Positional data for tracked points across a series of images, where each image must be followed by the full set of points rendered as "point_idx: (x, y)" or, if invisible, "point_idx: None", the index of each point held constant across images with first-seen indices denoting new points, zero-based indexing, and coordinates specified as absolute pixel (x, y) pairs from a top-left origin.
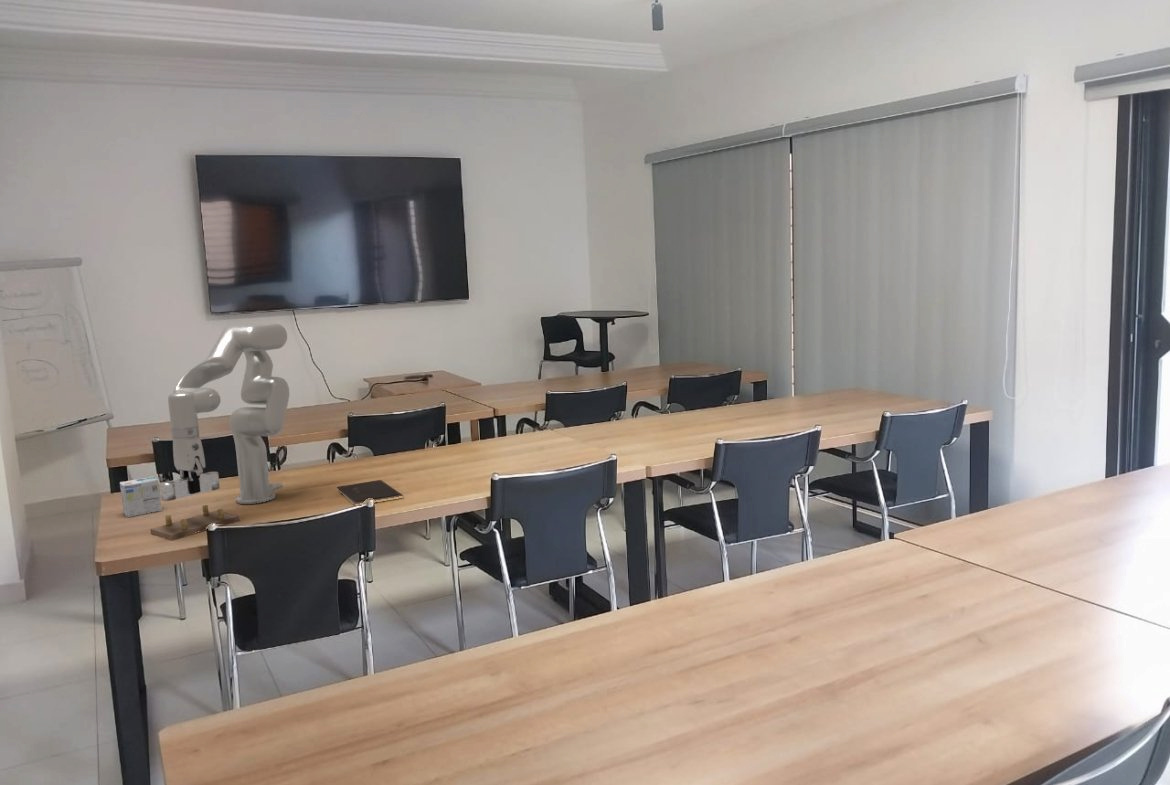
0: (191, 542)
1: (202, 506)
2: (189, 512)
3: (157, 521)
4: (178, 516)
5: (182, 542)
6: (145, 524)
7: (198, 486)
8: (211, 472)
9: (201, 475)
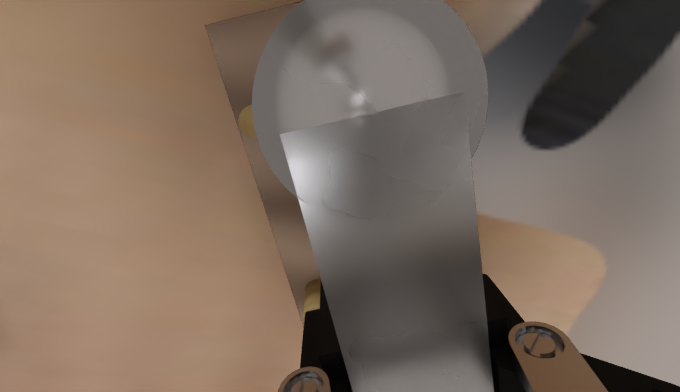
0: (557, 261)
1: (256, 138)
2: (51, 132)
3: (133, 280)
4: (102, 194)
5: (525, 283)
6: (150, 321)
7: (500, 291)
8: (314, 89)
9: (415, 277)
